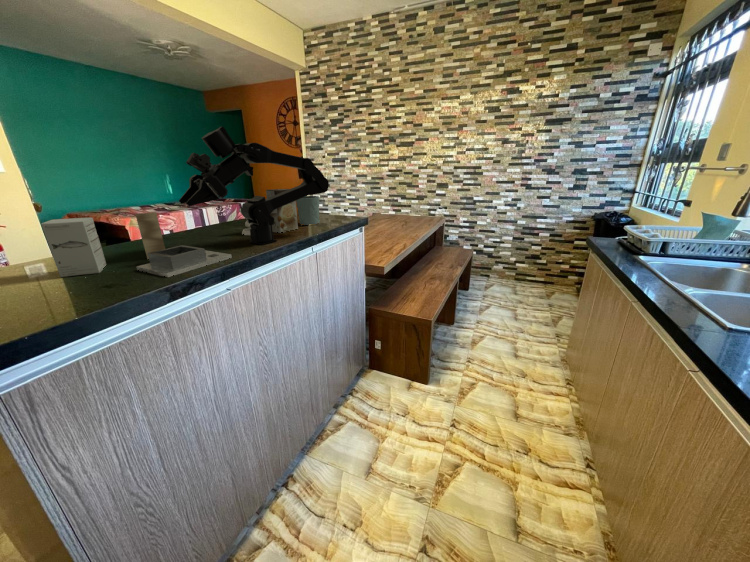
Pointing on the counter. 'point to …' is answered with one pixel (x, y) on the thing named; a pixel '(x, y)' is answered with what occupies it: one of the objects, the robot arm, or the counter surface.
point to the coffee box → (283, 214)
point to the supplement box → (74, 246)
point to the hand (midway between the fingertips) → (183, 203)
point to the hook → (247, 224)
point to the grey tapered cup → (308, 210)
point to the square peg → (150, 232)
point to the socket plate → (180, 260)
